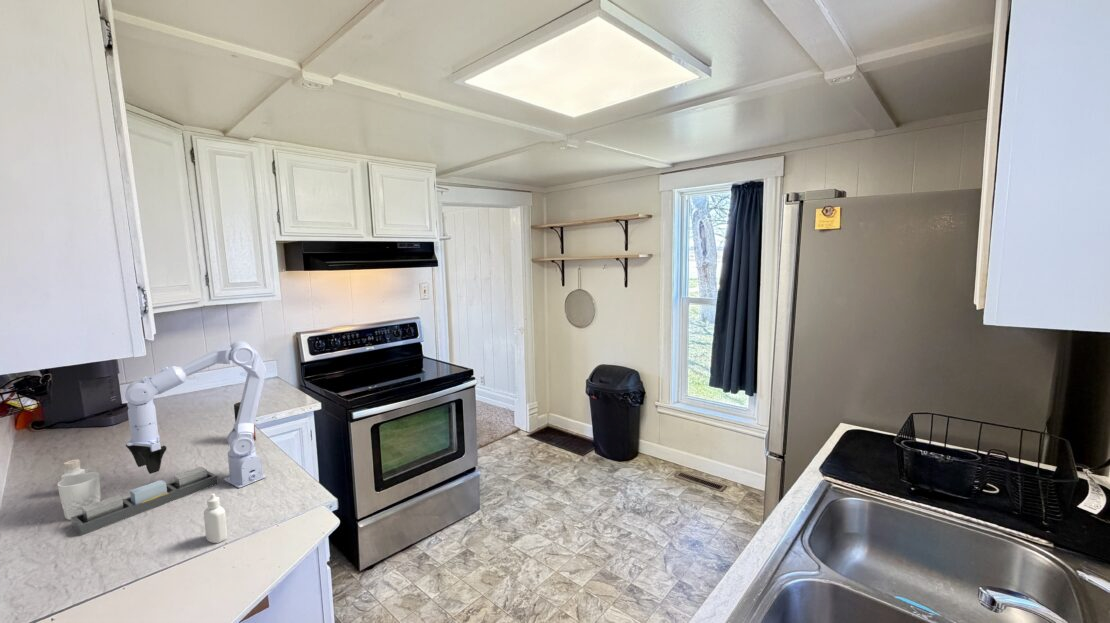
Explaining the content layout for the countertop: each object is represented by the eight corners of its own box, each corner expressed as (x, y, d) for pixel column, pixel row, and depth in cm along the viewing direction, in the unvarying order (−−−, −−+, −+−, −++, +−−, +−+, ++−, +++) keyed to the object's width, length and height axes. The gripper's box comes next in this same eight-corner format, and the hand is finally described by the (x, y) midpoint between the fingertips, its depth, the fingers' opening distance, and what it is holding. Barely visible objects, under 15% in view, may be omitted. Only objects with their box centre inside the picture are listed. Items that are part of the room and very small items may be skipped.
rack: (217, 483, 140) (216, 468, 139) (81, 535, 114) (78, 516, 113) (206, 477, 143) (205, 462, 143) (72, 526, 117) (69, 508, 117)
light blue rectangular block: (167, 497, 130) (166, 483, 130) (136, 509, 124) (134, 494, 124) (162, 494, 132) (161, 479, 132) (131, 505, 126) (129, 490, 125)
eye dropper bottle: (227, 529, 117) (223, 486, 115) (227, 540, 112) (223, 496, 111) (206, 535, 114) (202, 492, 113) (205, 547, 110) (201, 502, 108)
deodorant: (246, 445, 167) (243, 406, 165) (233, 443, 169) (229, 405, 167) (259, 439, 173) (256, 401, 171) (246, 437, 174) (243, 400, 172)
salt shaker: (71, 489, 135) (67, 459, 134) (88, 487, 137) (84, 457, 136) (62, 496, 132) (58, 465, 130) (80, 493, 133) (76, 463, 132)
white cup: (101, 501, 129) (97, 469, 128) (105, 511, 124) (100, 478, 123) (61, 513, 123) (56, 479, 122) (63, 524, 118) (58, 489, 117)
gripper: (114, 422, 126) (120, 468, 128) (135, 433, 119) (140, 481, 120) (146, 415, 132) (151, 458, 134) (168, 424, 125) (172, 470, 127)
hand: (148, 468), depth 127 cm, fingers open, 7 cm apart
